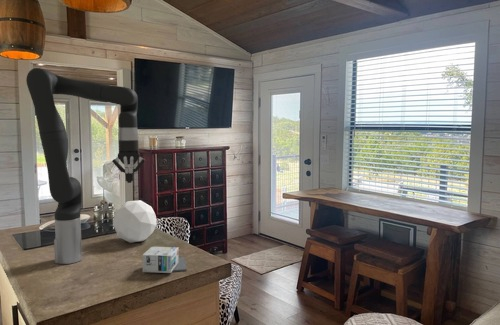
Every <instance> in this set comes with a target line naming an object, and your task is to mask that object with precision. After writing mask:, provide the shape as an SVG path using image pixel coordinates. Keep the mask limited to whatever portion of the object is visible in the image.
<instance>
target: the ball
mask: <svg viewBox="0 0 500 325" xmlns="http://www.w3.org/2000/svg"><path fill="white" fill-rule="evenodd" d="M112 225H113V227H114V228H113V229H114V230H115V233H116V234H117V237H118V238H120V239H122V240H124V241H126V242H127V243H130V244H132V243H139V242H144V241H145V240H147V238H149V237H150V236H151V235H152V234H153V233H154V232H155V229H156V227H157V216H156V213H155V211H154V209H153V207H152V206H151V205H149V204H147V203H146V202H144V201H143V200H140V199H139V200H129V201H128V200H127V201H126V202H124V203H123V204H122V205H121V206H120V207H119V208H117V209H116V210H115V213H114V216H113V221H112Z"/></svg>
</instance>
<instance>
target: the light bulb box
mask: <svg viewBox="0 0 500 325" xmlns="http://www.w3.org/2000/svg"><path fill="white" fill-rule="evenodd" d="M179 248H180V247H179V246H178V247H174V246H172V247H171V246H151V247H150V248H149V249H148V250H146V251H145V252H144V253H143V254H142V273H153V272H157V273H156V274H161V273H163V274H172V273H173V272H172V271H173V270H174V268H175V267H176V265H177V264H178V257H179V250H180V249H179Z"/></svg>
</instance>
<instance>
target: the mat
mask: <svg viewBox="0 0 500 325" xmlns="http://www.w3.org/2000/svg"><path fill="white" fill-rule="evenodd" d="M186 271H187V263H186V258H185V256H178V264H177V265H176V267H175V268H174V270H173V271H172V272H171V273H175V272H176V273H177V272H186ZM152 274H158V273H157V272H152Z"/></svg>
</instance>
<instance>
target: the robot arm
mask: <svg viewBox="0 0 500 325" xmlns="http://www.w3.org/2000/svg"><path fill="white" fill-rule="evenodd" d="M25 82H26V86H27V89H28V92H29V95H30V98H31V101H32V105H33V108H34V112H35V118H36V122H37V123H36V124H37V126H38V127H37V128H38V132H39V138H40V142H41V146H42V150H43V155H44V160H45V164H46V168H47V169H46V170H47V175H48V186H49V193H50V197H51V198H52V199H53V200H54V202H56V203H58V204H57V207H56V210H55V212H54V232H55V234H54V235H55V238H54V240H53V248H54V264H60V265H67V264H68V265H70V264H76V263H78V262H80V261H82V260H83V253H82V252H83V251H82V248H83V246H82V229H81V228H82V227H81V226H82V225H81V211H82V207H83V202H82V200H83V197H82V196H83V193H82V192H83V190H82V186H81V185H82V184H81V182H80V181H79V180H78V179H77V178H76V177H73V176H70V174H69V169H68V153H69V139H68V134H67V129H66V126H65V123H64V120H63V119H62V117H61V115H60V113H59V111H58V109H57V106H56V104H55V99H54V95H66V96H72V97H78V98H81V99H85V100H90V101H96V102H101V103H111V104H115V105H119V107H120V108H119V110H120V112H119V114H118V133H117V134H118V153H117V157H116V158H114V159H112V163H113V165H114V166H115V167H116V168H117V170H119V171H120V172H121V173H124V174H125V182H127V184H129V183H132V182H134V173H136V172H138V170H140V168H141V167H142V166H143V164H144V163H145V162H146V159H145V158H143V157H141V154H140V152H139V151H140V150H139V131H138V116H137V114H138V108H139V107H138V106H139V98H138V94H137V92H136V91H135V90H134V89H131V88H129V87H126V86H117V85H110V84H106V83H101V82H97V81H89V80H78V79H73V78H72V79H71V78H68V77H63V76H62V75H58V74H55V73H53V72H51V71H49V70H47V69H44V68H40V67H35V68H32V69H30V70H29V71H28V73H27V75H26V81H25ZM120 162H121V164H123V166H124V167H123V166H122V165H121V164H120ZM137 162H138V164H137V166H136V167H135V168H134V165H135V164H136V163H137Z"/></svg>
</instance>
